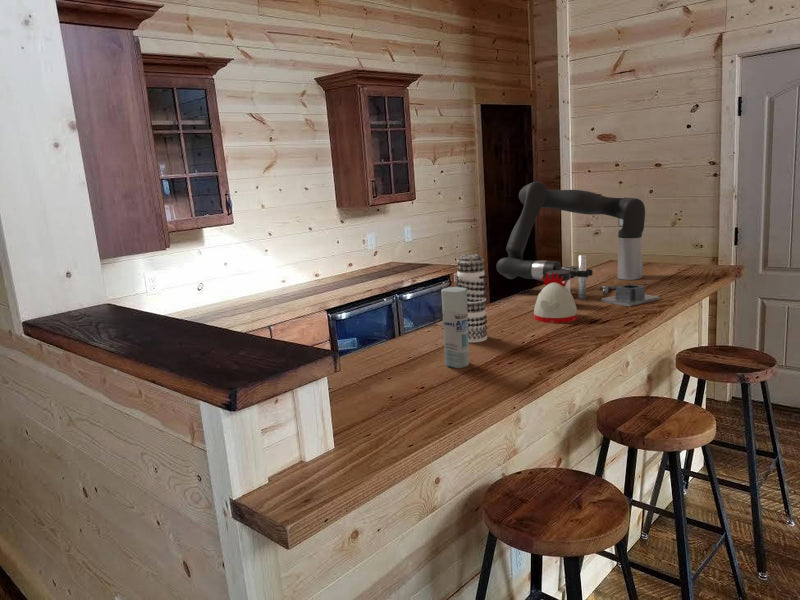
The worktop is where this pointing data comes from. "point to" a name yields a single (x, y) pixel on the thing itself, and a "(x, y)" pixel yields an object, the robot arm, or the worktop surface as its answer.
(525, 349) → the worktop surface
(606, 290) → the chuck key
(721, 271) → the worktop surface
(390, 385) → the worktop surface
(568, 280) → the jar
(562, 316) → the kitchen timer
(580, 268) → the steel rod
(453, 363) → the spray paint can
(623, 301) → the chuck block
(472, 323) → the decorative candle
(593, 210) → the robot arm
